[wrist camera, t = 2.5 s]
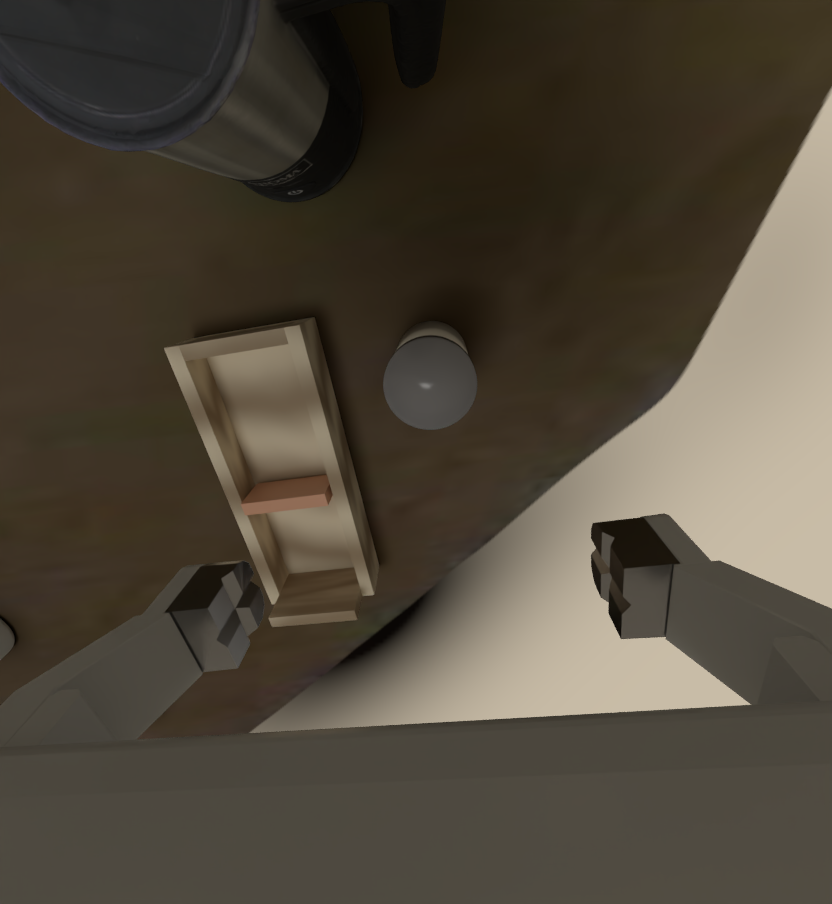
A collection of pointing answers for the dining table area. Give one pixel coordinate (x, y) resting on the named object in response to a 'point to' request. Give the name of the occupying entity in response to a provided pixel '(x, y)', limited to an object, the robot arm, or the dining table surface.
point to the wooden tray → (283, 463)
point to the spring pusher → (288, 495)
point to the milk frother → (209, 80)
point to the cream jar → (430, 377)
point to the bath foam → (5, 639)
